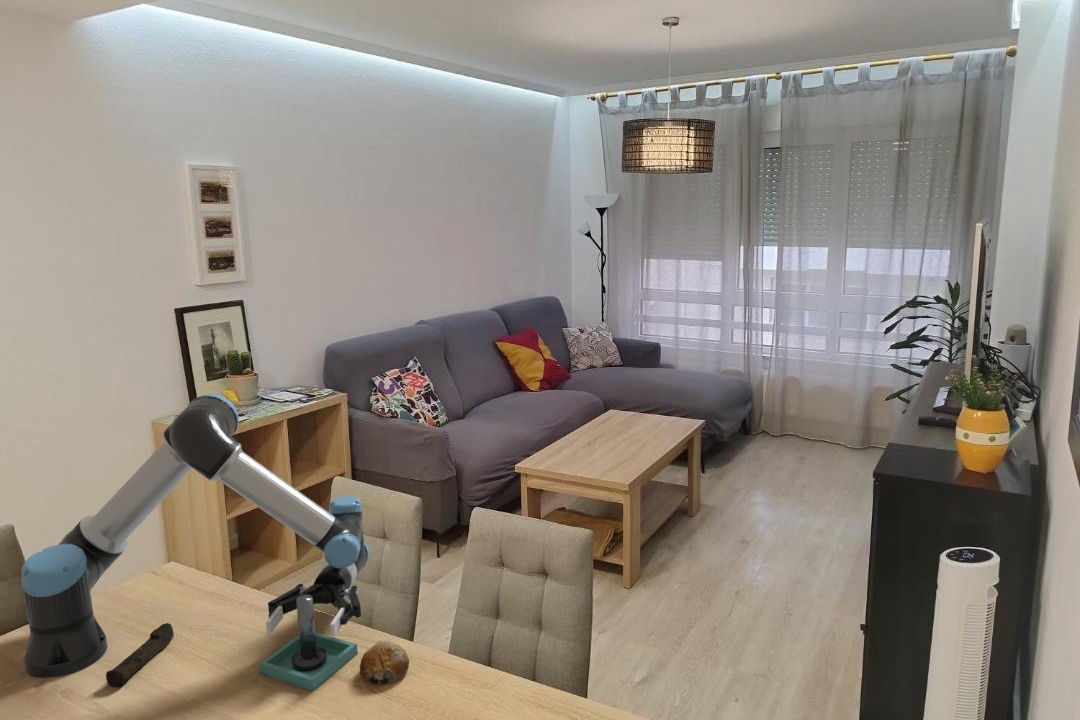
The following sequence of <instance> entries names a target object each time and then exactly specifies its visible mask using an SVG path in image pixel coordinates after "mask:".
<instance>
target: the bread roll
mask: <svg viewBox="0 0 1080 720" xmlns="http://www.w3.org/2000/svg"><path fill="white" fill-rule="evenodd" d="M409 666H410V659H409V656H408V653H407V652H406V650H405V649H404V648H403V647H402V646H401V645H399V644H397V643H396V642H393V641H390V640H379V641H377V642H376V643H375V644H374V645H372V646H371V647H370V648H369V649H368V650H365V652H364V653H363V655H362V657H361V659H360V664H359V673H360V674H359V675H360V677H361V679H362V680H363V681H364V682H365V683H367V684H371V685H372V686H386V685H390V684H393V683H394V682H397V681H399V680H401V679H402V678H403V677H405V676H406V674H407V672H408V671H409Z"/></svg>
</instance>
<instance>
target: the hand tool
mask: <svg viewBox="0 0 1080 720" xmlns="http://www.w3.org/2000/svg"><path fill="white" fill-rule="evenodd" d="M174 634H175V633H174V627H173V625H172V624H171V623H168V622H166V623H163V624H161V625H159V627H157V628H156V629H154V630H152V631H151V632H150V635H149V638H148V639H147V640H146V641H145V642H144V643H143V644H141V645H140V646H139V647H138V648H137V649H135V650H134V651H133V652H132V653H131V654H130V655H129V656H127V657H126V658H124V659H123V660H122V661H121V662H120V663H119V664H118V665H116V666H115V667H114V668H113V669H110V670H106V672H105V673H106V674H105V679H106V683H107V685H108V686H109V687H112V688H113V687H114V688H122V687H124V685H125V683H128V682H129V679H130V678H131V677H132V676H133V675H134V674H135V673H136V672H137V671H138V670H139V669H140V668H141V667H143V666H145V664H146V663H147V662H148V661H150V659H151V658H153V657H154V656H155V655H156V654H158V653H160V652H161V653H162V652H163V651H165V650H166V649H167V647H168V646H169V645H170V644H171V642H172V640H173V639H174V637H175V636H174Z"/></svg>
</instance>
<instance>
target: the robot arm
mask: <svg viewBox="0 0 1080 720" xmlns="http://www.w3.org/2000/svg"><path fill="white" fill-rule="evenodd" d="M238 425H239V413H238V410H237V408H236V406H235V404H233V402H232V401H231V400H229V399H228V398H226V397H224V396H222V395H219V394H215V393H208V394H203V395H200V396H198V397H195V398H194V399H192V400H191V401H190V402H189V404H188V405H187V406H186V407H185V408H184V410H182V411H181V413H179V414H178V415H177V416H176V417H175V419H174V420H173V422H172V423H170V425H169V426H168V427H167V428H165V430H164V431H163V434H162V437H163V442H161V443H162V444H160V445H159V446H158V447H157V449H156V450H155V451H154V452H153V453H152V454H151V455H150V456H149V458H148V459H146V461H145V462H144V463H143V464H142V465H141V466H140V467H139V468H138V469H137V470H136V471H135V472H134V474H132V475H131V477H129V479H128V480H127V481H125V483H124V484H123V485H122V486H121V487H120V488H119V489H118V490H117V492H115V493H114V494H113V495H112V497H111V498H110V499H109V500H108V501H107V502H106V503H105V504H104V505H103V506H102V508H101V509H100V510H98V511H97V513H96V514H94V515H86V516H84V517H83V518H82V519H81V520H80V521H79V522H78V523H77V524H76V525H75V526H74V527H73V528H72V530H70V531H69V532H67V534H66V535H65V536H64V537H63V538H62V540H61V541H60V542H59V543H58V544H56V545H51V546H49V547H45V548H43V549H42V550H41V551H37V552H35V553H34V554H32V555H31V556H29V557H28V558H26V560H25V561H24V563H23V565H22V567H21V570H20V571H21V573H20V574H21V580H20V585H21V588H22V591H23V597H24V602H25V608H26V613H27V619H28V620H27V621H28V625H29V632H30V633H29V637H28V642H27V646H26V651H25V656H24V666H25V670H26V672H27V673H28V674H30V675H31V676H34V677H38V678H51V677H52V678H53V677H60V676H65V675H68V674H72V673H75V672H77V671H79V670H82V669H85V668H86V667H89V666H90V665H93V664H94V663H95V662H97V661H98V660H99V659H101V658H102V657H103V656H104V655H105V653H106V652H107V651H108V641H107V636H106V634H105V632H104V630H103V629H102V627H101V625H100V624H99V622H98V620H97V619H96V617H95V615H94V609H93V602H92V596H91V590H92V589H93V587H95V585H96V584H97V582H98V581H99V580H100V578H101V577H102V576H103V575H104V574H105V572H107V570H108V569H109V568H110V567H111V565H113V564H114V562H116V561H117V559H118V558H119V557H120V556H121V555H122V554H123V553H124V552H125V550H127V548H128V543H129V542H128V538H130V536H131V535H132V533H134V531H135V530H137V528H138V527H139V526H140V525H141V524H142V522H144V521H145V520H146V518H147V517H148V516H149V515H150V514H151V513H152V512H153V511H154V510H155V508H157V507H158V506H159V504H160V503H162V501H163V500H164V499H165V498H166V497H167V496H168V495H169V494H170V493H171V492H172V491H173V489H175V487H177V485H179V483H180V482H181V481H182V480H183V479H184V478H185V477H186V476H187V475H188V474H189V473H190V472H191V470H194V471H196V472H198V473H199V474H200V475H201V476H203V477H204V478H205V479H208V480H209V481H211V482H212V481H219V482H221V483H222V484H224V485H226V486H227V487H228V488H230V489H231V490H233V491H234V492H236V493H237V494H238V495H239V496H241V497H243V498H244V499H246V500H247V501H248V502H250V503H252V504H253V505H254V506H256V507H257V508H259V509H261V510H262V511H263V512H264V513H266V514H267V515H269V516H271V517H272V518H273V519H275V520H277V521H278V522H279V523H281V524H282V525H284V526H285V527H287V528H288V529H289V530H291V531H293V532H294V533H295V534H297V535H298V536H300V537H301V538H302V539H304V540H306V541H307V542H308V543H310V544H311V545H313V546H314V547H315V548H317V549H318V550H320V551H321V552H323V555H324V559H325V561H326V565H324V567H323V568H322V570H321V571H320V572H319V574H318V575H317V576H316V578H315V580H314V583H313V584H311V585H310V586H309V587H304V585H303V583H299V584H297V585H296V586H295V587H294V588H292V589H290V590H288V591H287V592H285V593H283V594H281V595H280V596H278V597H276V598H274V599H272V600H270V601H268V602H267V605H268V608H267V610H268V618H267V620H266V621H265V627H266V628H265V629H266V635H271V634H272V633H273V632H274V631H275V629H276V628H277V626H278V625H279V624H280V622H282V620H283V619H284V615H286V614H288V613H291V612H293V611H297V601H296V599H297V598H298V597H300V596H302V595H311V596H312V597H313V605H316V604H317V605H318V604H319V605H320V604H324V605H329V604H331V605H332V606H333V607H334V608H336V609H337V610H338V612H337V613H336V615H335V617H334V618H333V620H332V621H331V623H330V634H331V636H330V637H336V636H337V635H338V632H339V631H340V630H341V628H342V627H343V626H345V625H347V624H348V622H349V620H350V619H352V618H353V617H355V618H360V617H362V609H361V603H360V600H359V597H358V596H359V595H358V586H357V585H353V583H354V581H355V580H356V579H357V576H358V575H359V573H360V572H361V571H362V570H363V568H365V566H366V564H367V562H368V560H369V558H370V555H371V554H370V553H371V552H370V551H371V550H370V546H369V545H368V543H367V542H366V540H364V538H365V537H364V527H363V526H364V525H363V508H362V501H361V499H360V497H357V496H352V495H344V496H342V495H341V496H339V497H335V498H334V499H332V500H330V502H329V511H328V510H326V509H325V508H323V507H322V506H320V505H319V504H317V503H316V502H315V501H314V500H311V499H310V498H309V497H307V496H306V495H305V494H303V493H302V492H301V491H299V490H297V489H296V488H295V487H294V486H292V485H291V484H290V483H288V482H286V481H285V480H284V479H282V478H281V477H279V476H278V475H276V474H275V473H274V472H273V471H272V470H269V469H268V468H267V467H265V466H264V465H262V464H261V463H260V462H258V461H257V460H255V459H254V458H253V457H251V456H250V455H248V454H247V453H246V452H244V451H243V449H242V444H241V443H240V442H238V441H237V440H236V439H235V438H234V437H232V436H234V435H235V433H236V431H237V430H238ZM345 596H346V597H347V598H348V600H350V602H348V601H347V600H346V599H345V598H344V597H345Z"/></svg>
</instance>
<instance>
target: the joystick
mask: <svg viewBox="0 0 1080 720" xmlns="http://www.w3.org/2000/svg"><path fill="white" fill-rule="evenodd" d="M296 601H297V609H296V612H297V623H298V624H297V625H298V635H299V637H300V649H299V650H298V651H296V652H295V653H294V654H293V656H292V666H293V668H294V669H295V670H297V671H302V672H307V671H313V670H316V669H318V668H320V667H322V666H323V665H324V664H325V663H326V661H327V655H326V650H325V649H324V648H322V647H319V646H316V635H315V632H316V626H315V625H316V624H315V611H314V604H313V597H312V596H311V595H302V596H300V597H298V598H297V599H296Z"/></svg>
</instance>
